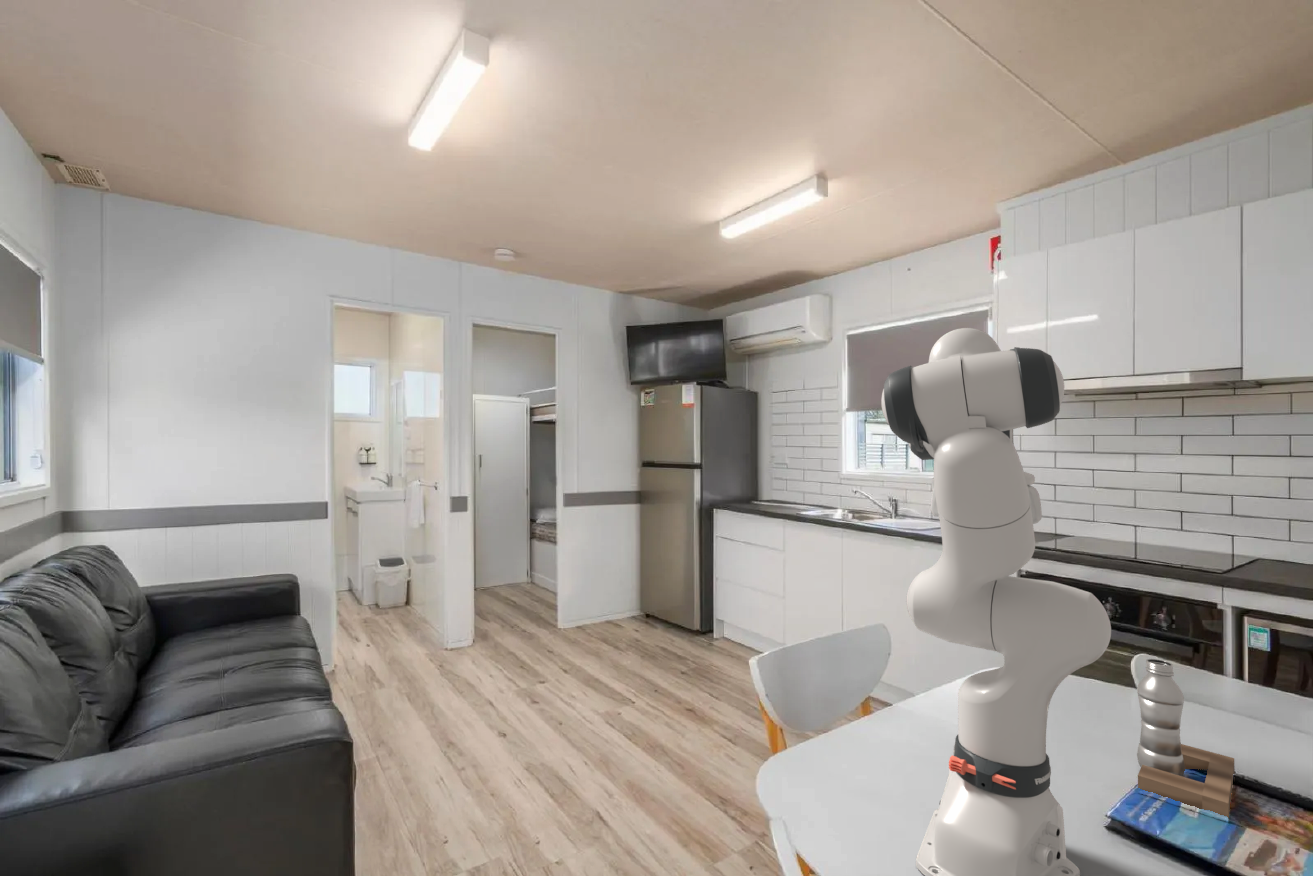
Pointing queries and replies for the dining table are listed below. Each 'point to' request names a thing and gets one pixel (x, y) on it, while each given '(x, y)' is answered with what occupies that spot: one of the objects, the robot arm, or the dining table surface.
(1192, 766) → the notched board
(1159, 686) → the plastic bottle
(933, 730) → the dining table surface
